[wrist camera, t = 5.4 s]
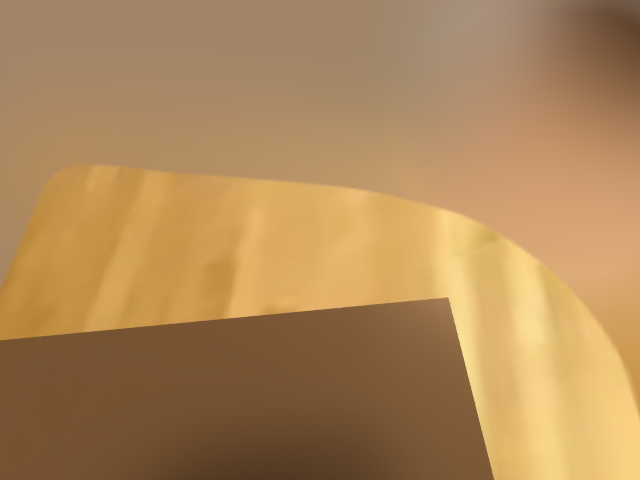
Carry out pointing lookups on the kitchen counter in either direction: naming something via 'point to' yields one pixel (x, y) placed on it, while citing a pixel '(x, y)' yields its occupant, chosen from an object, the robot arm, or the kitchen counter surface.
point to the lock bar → (246, 400)
